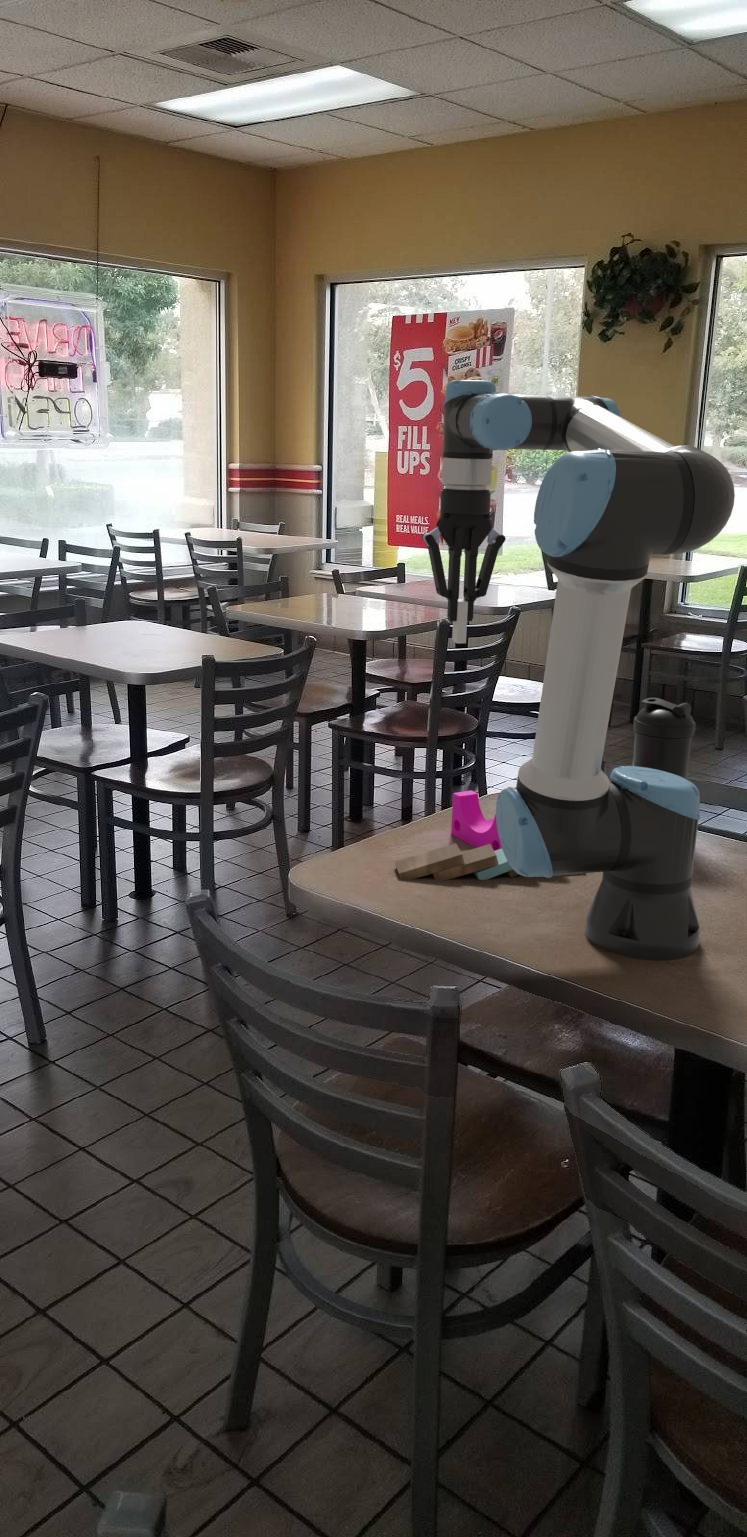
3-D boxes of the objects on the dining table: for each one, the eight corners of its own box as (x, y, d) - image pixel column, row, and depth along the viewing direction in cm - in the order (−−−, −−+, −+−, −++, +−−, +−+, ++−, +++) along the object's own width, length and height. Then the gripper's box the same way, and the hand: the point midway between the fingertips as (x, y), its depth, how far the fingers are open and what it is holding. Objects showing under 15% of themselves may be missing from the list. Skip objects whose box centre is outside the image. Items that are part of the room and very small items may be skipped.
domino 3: (477, 873, 183) (537, 850, 185) (467, 861, 188) (525, 839, 189) (479, 882, 184) (539, 859, 185) (469, 870, 189) (528, 847, 190)
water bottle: (638, 817, 216) (649, 692, 210) (692, 829, 211) (706, 701, 204) (614, 831, 208) (625, 702, 202) (670, 844, 203) (684, 711, 196)
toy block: (533, 857, 196) (536, 813, 194) (502, 863, 193) (504, 818, 191) (481, 830, 208) (483, 788, 206) (451, 835, 205) (452, 793, 203)
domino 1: (397, 871, 188) (458, 852, 188) (401, 882, 183) (464, 863, 183) (394, 861, 187) (456, 843, 188) (399, 873, 182) (462, 854, 183)
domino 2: (431, 871, 188) (492, 853, 188) (435, 883, 183) (498, 864, 183) (428, 862, 188) (489, 843, 188) (433, 873, 183) (496, 855, 183)
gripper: (499, 486, 187) (491, 637, 193) (418, 485, 184) (412, 638, 191) (515, 489, 180) (506, 645, 186) (430, 488, 177) (424, 646, 184)
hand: (459, 641), depth 189 cm, fingers closed
